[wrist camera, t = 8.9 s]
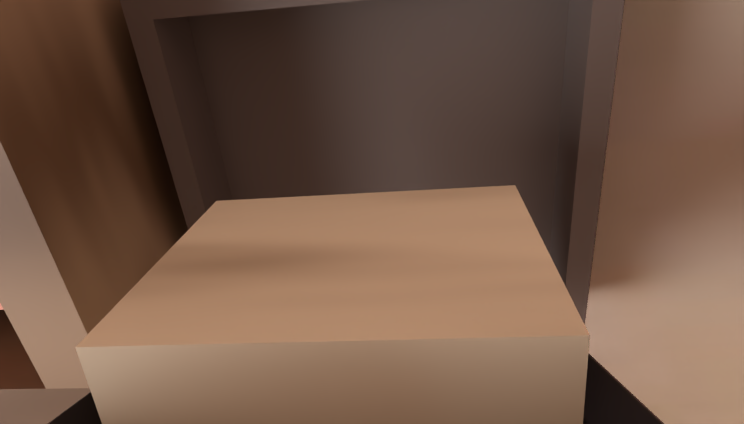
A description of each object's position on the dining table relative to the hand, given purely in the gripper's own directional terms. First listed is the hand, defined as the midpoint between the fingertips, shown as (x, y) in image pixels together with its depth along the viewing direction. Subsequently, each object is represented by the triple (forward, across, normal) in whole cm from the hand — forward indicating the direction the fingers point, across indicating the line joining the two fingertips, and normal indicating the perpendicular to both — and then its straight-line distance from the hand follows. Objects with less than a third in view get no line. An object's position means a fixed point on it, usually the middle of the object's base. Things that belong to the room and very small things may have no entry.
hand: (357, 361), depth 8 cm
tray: (+8, 0, 0) cm, 8 cm away
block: (+2, 0, +1) cm, 3 cm away
